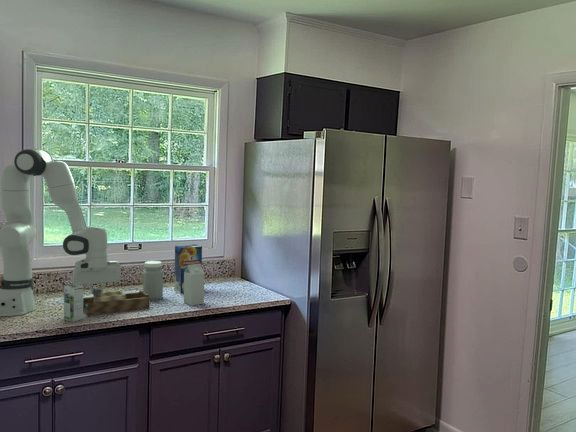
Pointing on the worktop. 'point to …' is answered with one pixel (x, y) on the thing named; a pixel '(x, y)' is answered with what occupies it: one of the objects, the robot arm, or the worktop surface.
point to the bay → (117, 304)
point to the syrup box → (73, 302)
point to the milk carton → (194, 285)
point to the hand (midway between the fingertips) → (96, 293)
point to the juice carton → (185, 263)
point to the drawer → (107, 295)
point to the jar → (153, 279)
